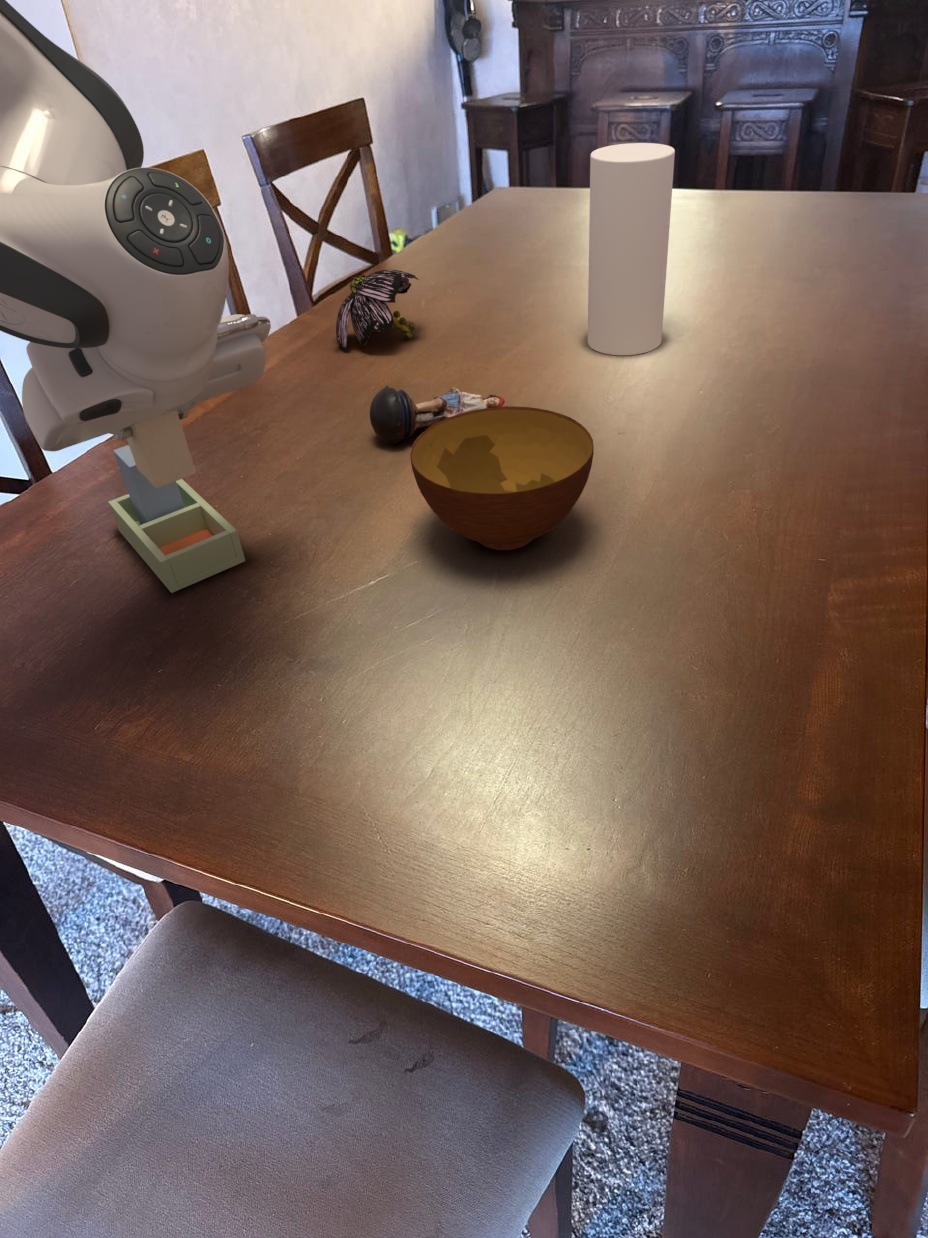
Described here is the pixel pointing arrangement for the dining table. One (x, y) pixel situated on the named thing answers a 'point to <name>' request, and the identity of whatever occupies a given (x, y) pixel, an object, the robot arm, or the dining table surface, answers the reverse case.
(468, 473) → the bowl
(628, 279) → the tall pillar cylinder
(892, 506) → the dining table surface
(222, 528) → the holder
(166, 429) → the beige rectangular block
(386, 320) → the decorative flower
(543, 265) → the dining table surface
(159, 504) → the pale blue upright prism
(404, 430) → the figurine
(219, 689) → the dining table surface
